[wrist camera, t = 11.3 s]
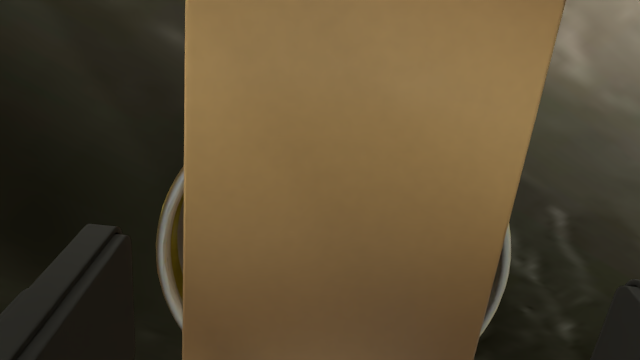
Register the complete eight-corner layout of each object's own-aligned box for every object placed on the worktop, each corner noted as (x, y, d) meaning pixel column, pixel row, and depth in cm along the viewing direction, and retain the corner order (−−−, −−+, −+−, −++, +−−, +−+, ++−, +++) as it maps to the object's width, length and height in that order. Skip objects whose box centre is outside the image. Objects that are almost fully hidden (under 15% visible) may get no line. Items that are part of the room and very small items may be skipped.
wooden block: (221, -46, 12) (184, -47, 9) (505, -15, 13) (568, -6, 9) (207, 401, 17) (180, 503, 14) (412, 417, 17) (432, 523, 14)
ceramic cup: (427, 253, 27) (483, 411, 17) (221, 246, 26) (166, 401, 17) (464, -33, 22) (569, -27, 12) (212, -44, 22) (128, -45, 12)
